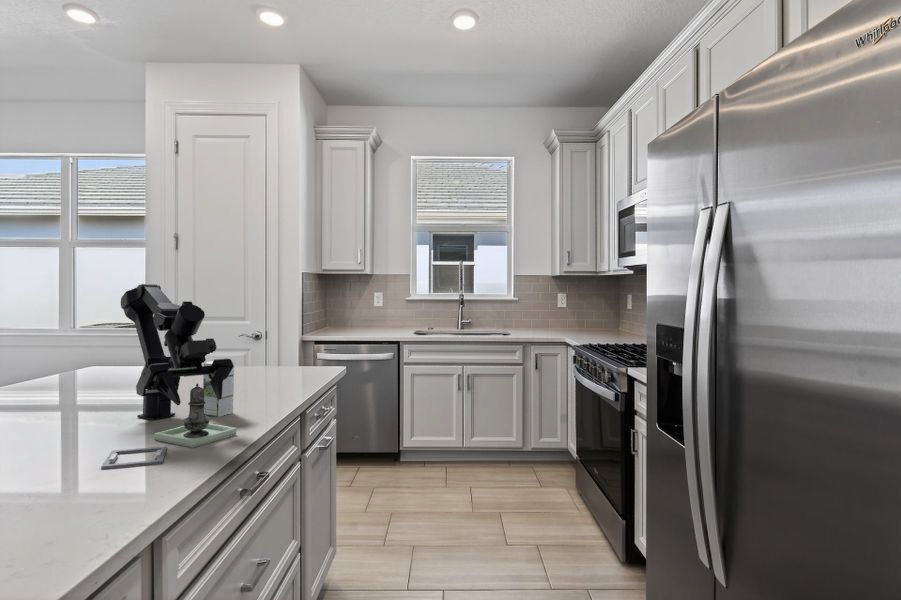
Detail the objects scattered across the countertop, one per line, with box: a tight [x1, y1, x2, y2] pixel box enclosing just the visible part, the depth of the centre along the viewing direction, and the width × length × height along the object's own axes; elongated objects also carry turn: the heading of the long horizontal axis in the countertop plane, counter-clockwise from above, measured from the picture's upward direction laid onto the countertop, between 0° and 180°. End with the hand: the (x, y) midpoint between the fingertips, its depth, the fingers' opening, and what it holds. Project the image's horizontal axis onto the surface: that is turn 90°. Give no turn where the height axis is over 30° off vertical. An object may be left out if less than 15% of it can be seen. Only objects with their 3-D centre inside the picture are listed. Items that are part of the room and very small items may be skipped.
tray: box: [154, 422, 237, 448], centre depth 116 cm, size 12×12×2 cm
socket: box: [100, 445, 168, 470], centre depth 101 cm, size 10×10×1 cm
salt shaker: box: [181, 382, 211, 438], centre depth 116 cm, size 6×6×12 cm
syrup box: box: [202, 360, 235, 418], centre depth 138 cm, size 6×6×14 cm
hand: (200, 401), depth 115 cm, fingers open, 9 cm apart
